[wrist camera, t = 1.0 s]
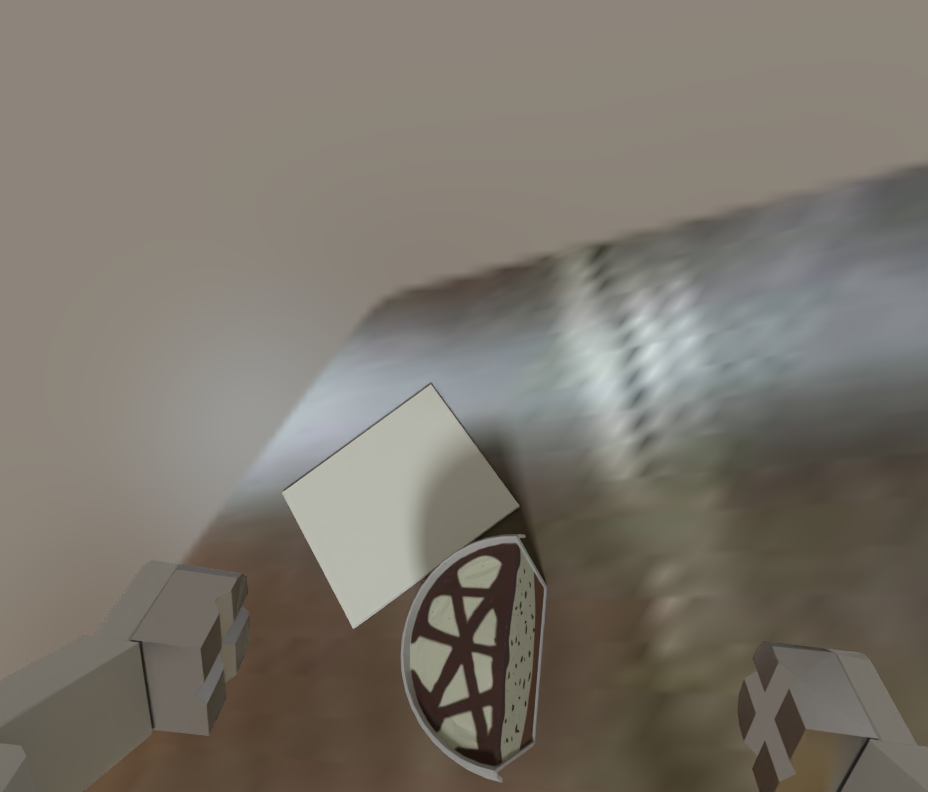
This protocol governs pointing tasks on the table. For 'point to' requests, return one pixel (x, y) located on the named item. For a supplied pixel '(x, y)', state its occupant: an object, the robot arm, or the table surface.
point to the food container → (477, 653)
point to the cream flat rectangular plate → (397, 504)
